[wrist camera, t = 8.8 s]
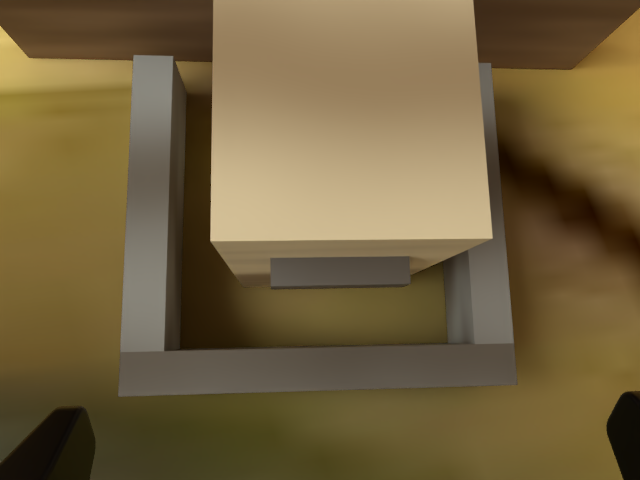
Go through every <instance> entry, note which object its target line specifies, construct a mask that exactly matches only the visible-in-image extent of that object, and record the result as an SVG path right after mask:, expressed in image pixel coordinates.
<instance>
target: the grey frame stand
mask: <svg viewBox="0 0 640 480" xmlns="http://www.w3.org/2000/svg"><path fill="white" fill-rule="evenodd" d="M473 5H474V17H475V29H476V41H477V53H478V65H479V78H480V90H481V102H482V114H483V126H484V138H485V150H486V163H487V175H488V187H489V199H490V211H491V223H492V236H493V239H491V240H488V241H486V242H484V243H482V244H479V245H477V246H475V247H473V248H470V249H468V250H466V251H464V252H461V253H459V254H457V255H455V256H452V257H450V258H448V259H446V260H444V261H443V269H444V286H445V302H446V318H447V335H448V343H420V344H375V345H330V346H285V347H240V348H194V349H180V329H181V290H182V251H183V212H184V173H185V134H186V95H187V92H186V89H185V87H184V84H183V81H182V79H181V76H180V73H179V71H178V68H177V65H176V62H175V61H206V62H213V0H0V26H1V27H2V28H3V29H4V30H5V31H6V33H7V34H8V35H9V36H10V37H11V38H12V39H13V40H14V42H15V43H16V44H17V45H18V46H19V47H20V48H21V49H22V50H23V52H24V53H25V54H26V55H27V56H28V57H29V58H66V59H113V60H133V79H132V101H131V123H130V145H129V167H128V190H127V212H126V234H125V256H124V279H123V301H122V323H121V345H120V368H119V390H118V397H121V396H155V395H190V394H224V393H258V392H292V391H327V390H361V389H395V388H430V387H464V386H498V385H517V373H516V361H515V349H514V337H513V324H512V312H511V300H510V288H509V276H508V264H507V252H506V240H505V228H504V215H503V203H502V191H501V179H500V167H499V155H498V143H497V131H496V119H495V106H494V94H493V82H492V70H491V68H532V69H572V68H573V67H574V66H576V65H577V64H578V63H579V62H580V61H581V60H582V59H583V58H584V57H586V56H587V55H588V54H589V53H590V52H591V51H592V50H593V49H594V48H596V47H597V46H598V45H599V44H600V43H601V42H602V41H603V40H604V39H606V38H607V37H608V36H609V35H610V34H611V33H612V32H613V31H614V30H615V29H617V28H618V27H619V26H620V25H621V24H622V23H623V22H624V21H625V20H627V19H628V18H629V17H630V16H631V15H632V14H633V13H634V12H635V11H637V10H638V9H639V8H640V0H473Z"/></svg>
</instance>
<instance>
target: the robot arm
mask: <svg viewBox="0 0 640 480" xmlns="http://www.w3.org/2000/svg"><path fill="white" fill-rule="evenodd" d="M606 426H607V435H608V438H609V441H610V444H611V446H612V449H613V452H614V455H615V457H616V460H617V463H618V466H619V469H620V471H621V474H622V477H623V480H640V391H630V392H625V393H623V394H622V395H621V396H620V398H619V400H618V401H617V403H616V405H615V407H614V409H613V411H612V413H611V415H610V416H609V418H608V421H607V425H606ZM94 454H95V436H94V433H93V430H92V426H91V423H90V420H89V417H88V414H87V411H86V409H85V408H84V407H82V406H62V407H58V408H56V409H55V410H53V411H52V412H51V413H50V414H49V415H48V416H47V417H46V418H45V419H44V420H43V421H42V422H41V423H40V424H39V425H38V426H37V427H36V428H35V429H34V430H33V431H32V432H31V433H30V434H29V435H28V436H27V437H26V438H25V439H24V440H23V441H22V442H21V443H20V444H19V445H18V446H17V447H16V448H15V449H14V450H13V451H12V452H11V453H10V454H9V455H8V456H7V457H6V458H5V459H4V460H3V461H2V462H1V463H0V480H89V479H90V474H91V469H92V464H93V459H94Z"/></svg>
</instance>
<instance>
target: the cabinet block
mask: <svg viewBox="0 0 640 480" xmlns="http://www.w3.org/2000/svg"><path fill="white" fill-rule="evenodd" d="M491 239H493V236H492V223H491V211H490V199H489V187H488V175H487V163H486V150H485V138H484V126H483V114H482V102H481V90H480V78H479V65H478V53H477V41H476V29H475V17H474V5H473V0H213V70H212V151H211V232H210V241H211V243H212V244H213V246H214V247H215V248H216V250H217V251H218V253H219V254H220V255H221V257H222V258H223V260H224V261H225V262H226V264H227V265H228V267H229V268H230V269H231V271H232V272H233V274H234V275H235V276H236V278H237V279H238V281H239V282H240V283H241V285H242V286H243V287H271V289H324V288H382V287H404V286H407V285H409V284H411V278H410V275H412V274H414V273H417V272H419V271H421V270H423V269H426V268H428V267H430V266H432V265H435V264H437V263H439V262H441V261H444V260H446V259H448V258H450V257H452V256H455V255H457V254H459V253H461V252H464V251H466V250H468V249H470V248H473V247H475V246H477V245H479V244H482V243H484V242H486V241H488V240H491Z"/></svg>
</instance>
